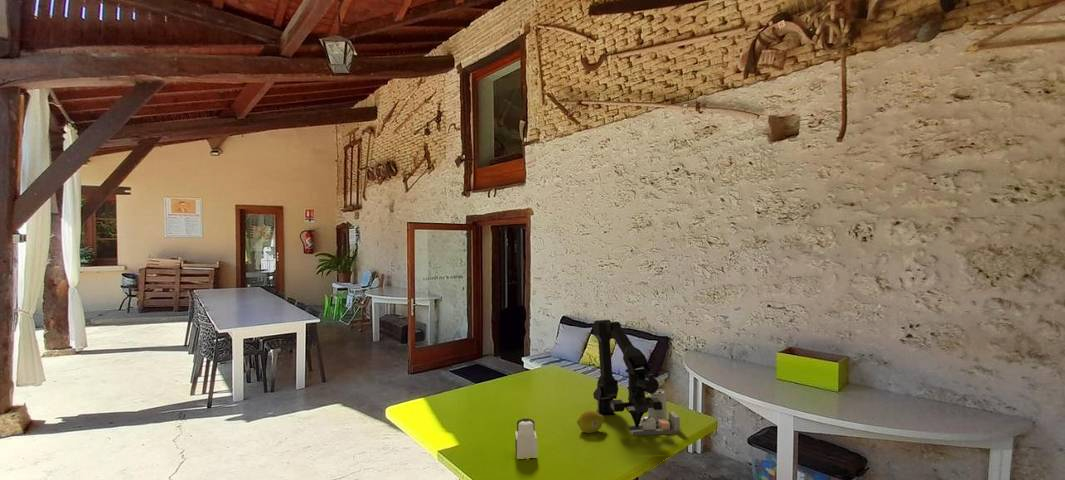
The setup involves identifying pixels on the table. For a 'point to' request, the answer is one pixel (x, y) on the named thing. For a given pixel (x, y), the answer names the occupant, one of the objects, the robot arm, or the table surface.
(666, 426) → the block
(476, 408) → the table surface
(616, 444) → the table surface
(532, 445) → the medicine bottle
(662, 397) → the can
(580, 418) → the lemon
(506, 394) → the table surface
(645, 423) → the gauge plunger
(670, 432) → the gauge bench
